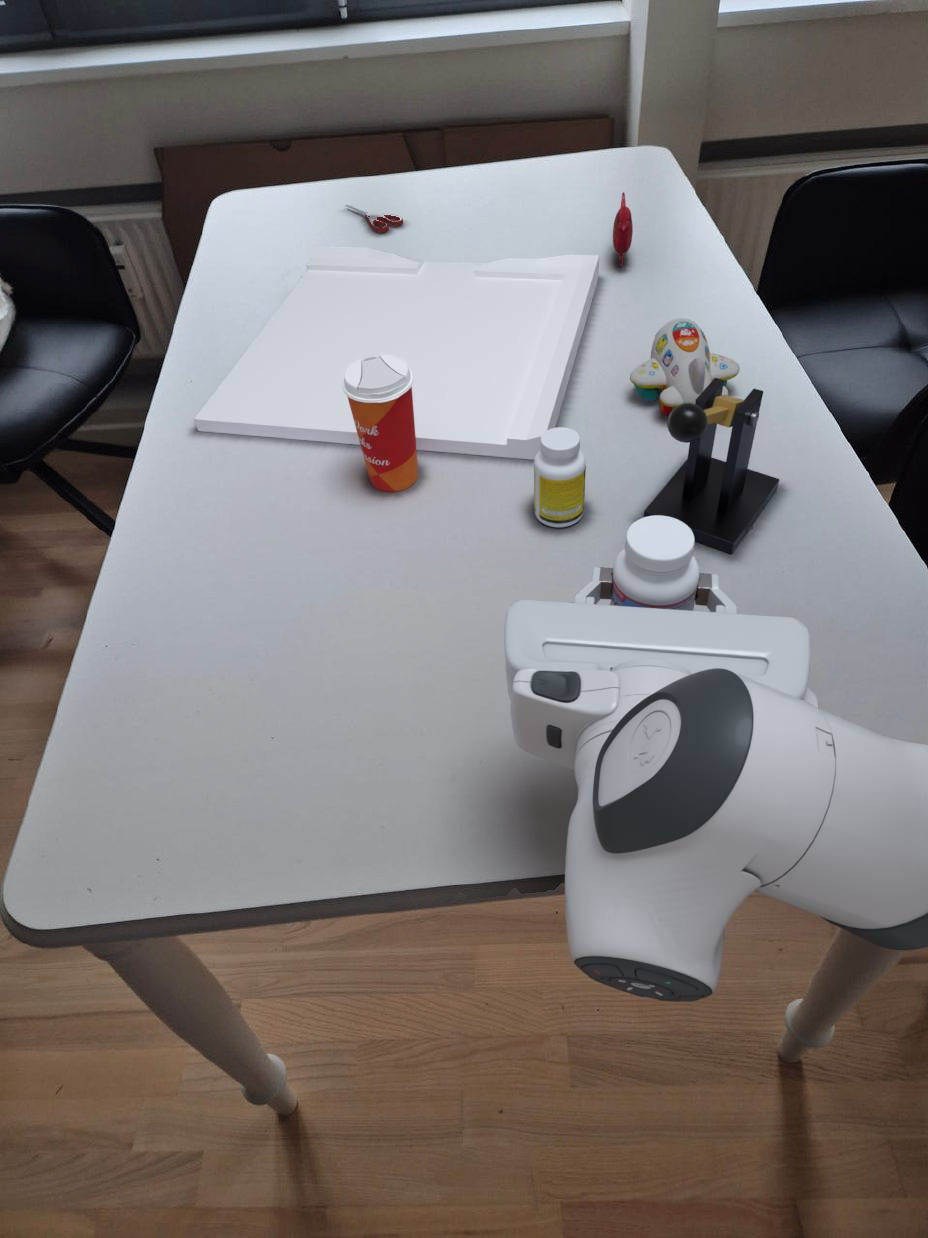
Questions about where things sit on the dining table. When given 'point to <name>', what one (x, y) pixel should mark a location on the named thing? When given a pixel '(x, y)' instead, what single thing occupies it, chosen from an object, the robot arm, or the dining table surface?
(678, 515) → the black lever stand
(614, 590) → the pill bottle
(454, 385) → the tray
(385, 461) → the paper cup
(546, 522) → the supplement bottle
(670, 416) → the lever with black knob
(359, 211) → the scissors
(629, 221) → the decorative bird figurine
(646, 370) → the toy airplane
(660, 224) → the dining table surface
